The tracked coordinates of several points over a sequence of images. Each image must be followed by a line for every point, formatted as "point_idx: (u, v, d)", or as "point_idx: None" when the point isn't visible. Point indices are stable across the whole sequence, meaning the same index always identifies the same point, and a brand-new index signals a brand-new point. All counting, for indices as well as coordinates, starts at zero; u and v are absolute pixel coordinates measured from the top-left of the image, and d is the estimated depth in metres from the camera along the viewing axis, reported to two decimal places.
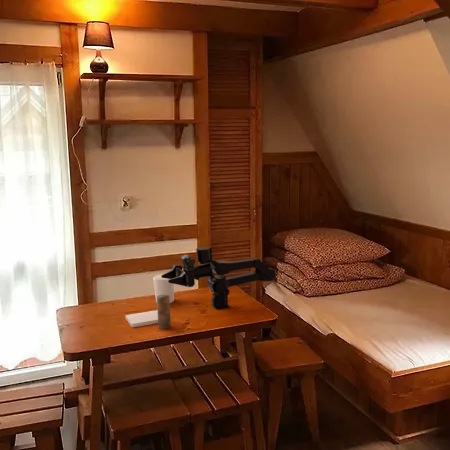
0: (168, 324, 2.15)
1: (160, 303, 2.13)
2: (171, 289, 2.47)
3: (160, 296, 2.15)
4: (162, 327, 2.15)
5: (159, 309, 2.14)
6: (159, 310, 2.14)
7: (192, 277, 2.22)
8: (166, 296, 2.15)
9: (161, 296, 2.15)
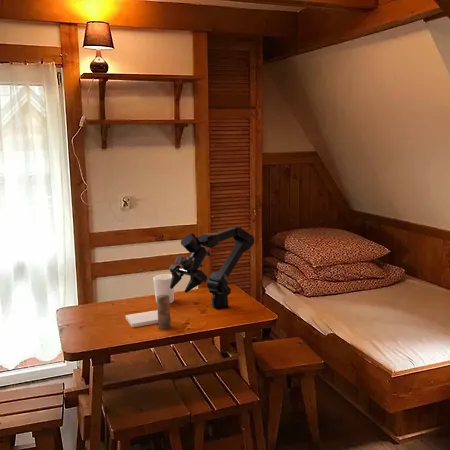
0: (168, 324, 2.15)
1: (160, 303, 2.13)
2: (171, 289, 2.47)
3: (160, 296, 2.15)
4: (162, 327, 2.15)
5: (159, 309, 2.14)
6: (159, 310, 2.14)
7: (203, 274, 2.17)
8: (166, 296, 2.15)
9: (161, 296, 2.15)
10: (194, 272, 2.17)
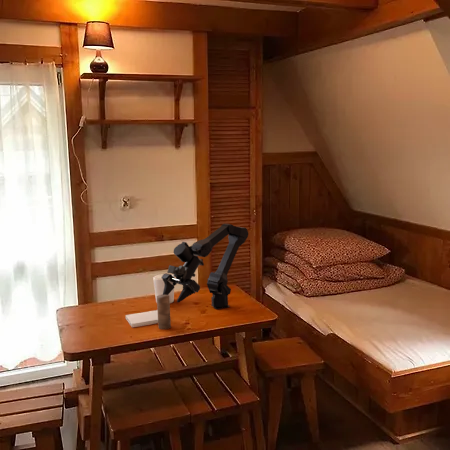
0: (168, 324, 2.15)
1: (160, 303, 2.13)
2: None
3: (160, 296, 2.15)
4: (162, 327, 2.15)
5: (159, 309, 2.14)
6: (159, 310, 2.14)
7: (195, 284, 2.15)
8: (166, 296, 2.15)
9: (161, 296, 2.15)
10: (187, 282, 2.15)
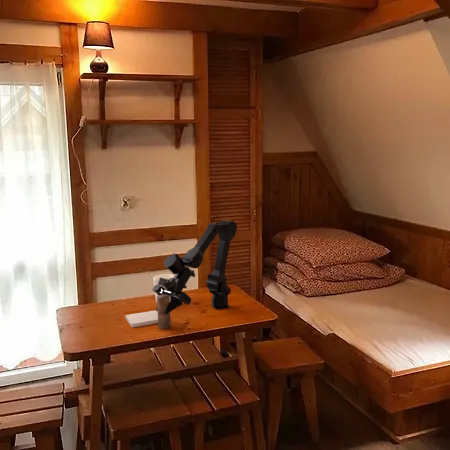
0: (168, 324, 2.15)
1: (160, 303, 2.13)
2: None
3: (160, 296, 2.15)
4: (162, 327, 2.15)
5: (159, 309, 2.14)
6: (159, 310, 2.14)
7: (186, 296, 2.12)
8: (166, 296, 2.15)
9: (161, 296, 2.15)
10: (177, 294, 2.12)
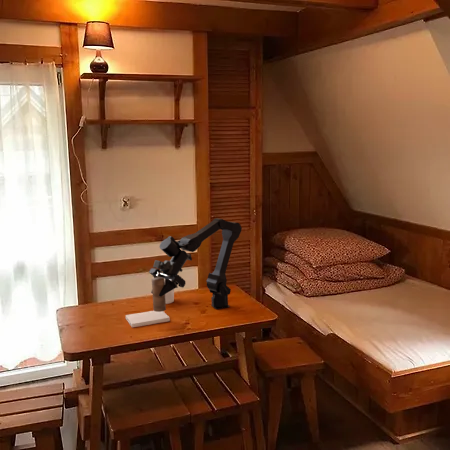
0: (163, 306, 2.16)
1: (155, 286, 2.14)
2: None
3: (155, 278, 2.16)
4: (157, 309, 2.15)
5: (154, 291, 2.15)
6: (154, 292, 2.15)
7: (180, 279, 2.12)
8: (161, 278, 2.15)
9: (156, 278, 2.16)
10: (171, 277, 2.12)
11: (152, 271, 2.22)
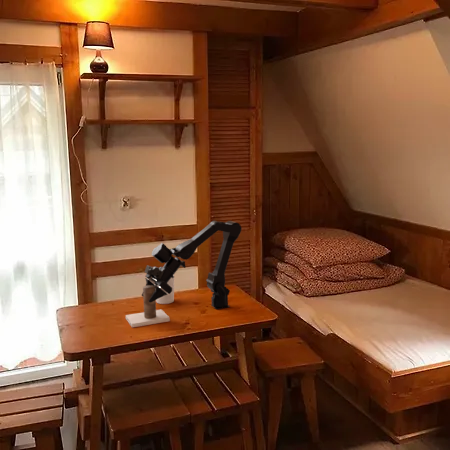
0: (152, 314, 2.23)
1: (144, 293, 2.22)
2: None
3: (146, 286, 2.24)
4: (146, 316, 2.24)
5: (144, 299, 2.23)
6: (144, 299, 2.23)
7: (166, 285, 2.17)
8: (151, 287, 2.23)
9: (147, 286, 2.24)
10: (158, 283, 2.18)
11: (147, 276, 2.30)
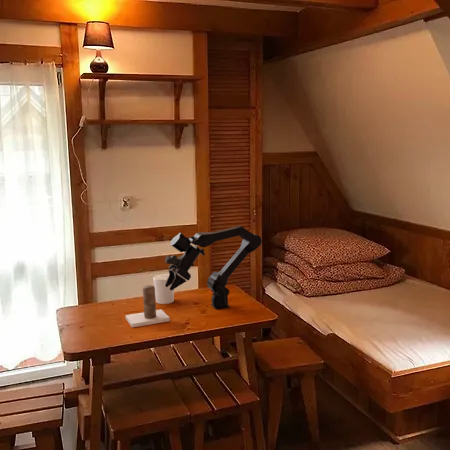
0: (152, 314, 2.23)
1: (144, 293, 2.22)
2: None
3: (146, 286, 2.24)
4: (146, 316, 2.24)
5: (144, 299, 2.23)
6: (144, 300, 2.23)
7: (183, 272, 2.21)
8: (151, 287, 2.23)
9: (147, 286, 2.24)
10: (176, 270, 2.22)
11: (169, 266, 2.35)
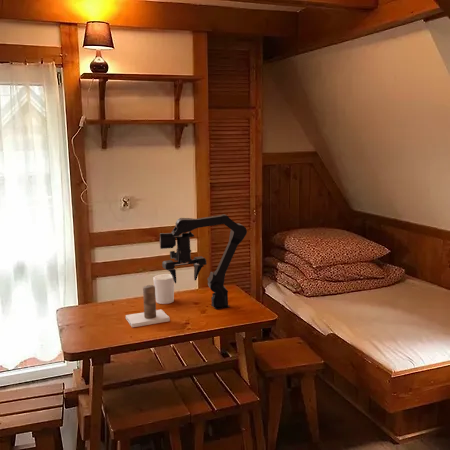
0: (152, 314, 2.23)
1: (144, 293, 2.22)
2: (171, 289, 2.47)
3: (146, 286, 2.24)
4: (146, 316, 2.24)
5: (144, 298, 2.23)
6: (144, 299, 2.23)
7: (163, 264, 2.31)
8: (151, 287, 2.23)
9: (147, 286, 2.24)
10: None
11: None
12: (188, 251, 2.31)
